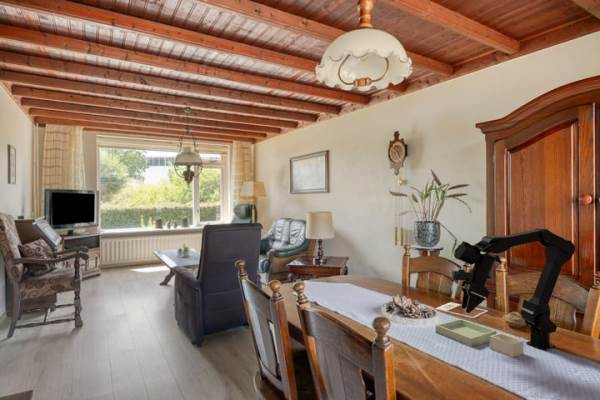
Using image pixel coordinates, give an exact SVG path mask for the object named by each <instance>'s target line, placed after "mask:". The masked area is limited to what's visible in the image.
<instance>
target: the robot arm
mask: <svg viewBox="0 0 600 400" xmlns="http://www.w3.org/2000/svg"><path fill="white" fill-rule="evenodd" d="M536 242H538V243H539V244H540V245H541V246H543V247H544V256H545V263H544V266H543V269H542V271H541V274H540V276H539V279H538V282H537V284H536V287H535V290H534V291H533V295H532V297H531V298H530V299H523V301H522V304H521V307H519V310H520V315H521V316H522V318H523V319H524V320H525V323H526V325H527V326H530V327H529V328H530V340H529V341H526V342H525V343H526V345H529V346H531V347H535V348H537V349H541V350H543V351H547V350H549V349H552V348H555V347H556V345H555V344H553V343H551V334H552V333H556V332H557V328H558V326H557V325H556V324H555V323H554V321H552V319H550V317H551V308H550V300H551V298H552V296H553V292H554V290H555V287H556V284H557V282H558V279H559V276H560V274H561V271H562V269H563V266H564V265H565V264H566V263H568V262H569V261H570V260H571V259H572V257H573V255H574V254H575V252H576V246H575V244H574V243H573V242H572V241H571V240H569V239H565V238H564V237H563V236H560V235H557V234H555V233H554V232H552V231H550V230H549V229H547V228H541V227H540V228H539V227H538V228H537V227H536V228H535V229H530V230H526V231H521V232H515V233H512V234H507V235H485V236H482V238H481V240H479V241H478V242H476V243H475V244H471V243H469V242H467V241H465V240H464V241H462V242H461V243H460V244H459V245H458V246H457V247H456V248H455V249H454V253H453V257H454V259H456V260H459V261H460V262H463V263H466V264H467V265H473V266H472V268H470V269H469V271H465V269H463V268H462V269H461V268H459V269H457V270H452V271H451V280H452V281H460V284H459V286H460V289H461V291H462V299H461V305H462V306H460V307H461V309H463V310H465V313H467V314H470V313H471V312H472V311H474V310H476V309H475V308H478V306H479V305H481V304H482V303H483V302H484V301H486V300H487V299H489V296H490V294H491V293H490V290H489V289H487V282H488V280H490V279H491V273H492V270H493V267H494V266H495V263H498V264H502V263H503V262H502V260H501V258H500V256H499V255H498V254H502V253H504V252H507V251H508V250H509V249H511V248H513V247H517V246H523V245H525V244H526V245H527V244H530V243H531V244H532V243H536Z"/></svg>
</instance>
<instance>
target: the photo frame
mask: <svg viewBox="0 0 600 400" xmlns="http://www.w3.org/2000/svg"><path fill="white" fill-rule="evenodd" d="M461 306H462V303H461V304H460V303H456V302H452V301H450V302H448V303H445V304H443V305H440V306H437V307H436V308H434V310H437V311H441V312H445V313H449V314H453V315H457V316H461V317H464V318H469V319H473V320H474V319H476V318H478V317H480V316H483V315H484V314H486V313H488V311H489V310H487V309H483V308H478V307H476V308H475V309H474V310H477V311H482V312H480V313H478V314H477V315H474V316H470V315H466V314H462V313H457V312H453V311H452V310H454V309H457V308H459V307H461Z"/></svg>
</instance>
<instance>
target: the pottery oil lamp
mask: <svg viewBox="0 0 600 400" xmlns="http://www.w3.org/2000/svg"><path fill="white" fill-rule="evenodd" d="M502 320H503V321H504V322H505V323H506V324H507V325H509V326H510V327H513V328H518V329H519V328H520V329H521V328H522V327H525V326H526V325H527V324H526V323H525V320H524V319H523V318H522V316H521V313H519V312H518V311H511V312H508V313H507V314H505V315H504V316H502Z"/></svg>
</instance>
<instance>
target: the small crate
mask: <svg viewBox="0 0 600 400" xmlns="http://www.w3.org/2000/svg"><path fill="white" fill-rule="evenodd" d="M524 347H525V346H524V340H522V339H520V338H517V337H514V336H511V335H508V334H505V333H502V332H499V333H497V334H495V335H492V336H490V341H489V349H490V350H492V351H493V352H497V353H498V354H502V355H505V356H507V357H510V358H512V359H514V358H517V357H519V356H521V355H524Z"/></svg>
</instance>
